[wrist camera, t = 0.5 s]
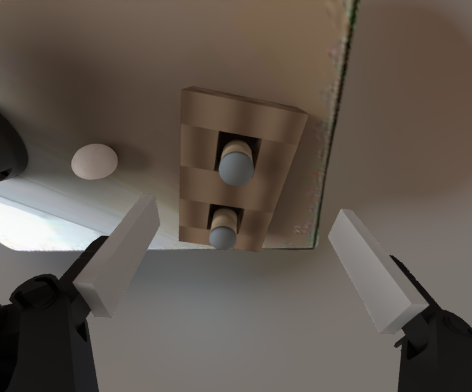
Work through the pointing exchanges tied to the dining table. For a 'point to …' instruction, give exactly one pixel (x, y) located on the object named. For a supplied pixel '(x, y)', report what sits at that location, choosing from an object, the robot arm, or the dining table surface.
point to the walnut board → (207, 161)
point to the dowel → (223, 229)
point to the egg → (94, 162)
